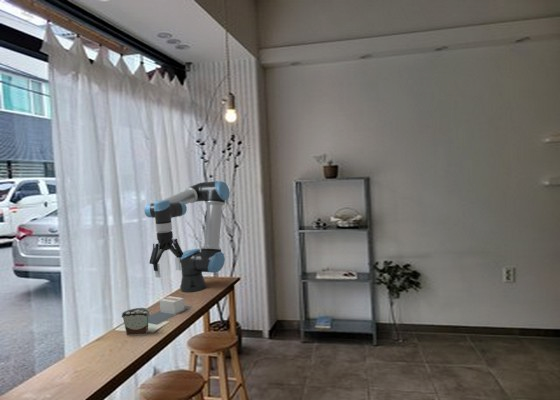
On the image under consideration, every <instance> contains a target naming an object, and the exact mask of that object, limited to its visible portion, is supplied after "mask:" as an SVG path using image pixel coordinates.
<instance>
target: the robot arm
mask: <svg viewBox="0 0 560 400" xmlns="http://www.w3.org/2000/svg"><path fill="white" fill-rule="evenodd" d="M230 193H231V192H230V189H229V186H228V184H227V183H226V182H225V181H222V180H221V181H218V180H217V181H203V182H199V183H196V184H194V185H192V186H188V187H187V188H185V190H184V191H181V192H179V193H177V194H174V195H172V196H169V197H167V198H164V199H161V200H155V201H154V202H153V203H152V202H151V203H147V204H146V205H145V206H144V211H143V212H144V215H145V216H146V217H147V218H152V219H153V218H155V230H156V240H157V242H158V243H155V242H154V243H153V244H152V251H151V254H150V259H149V263H148V264H150V265H153V271H154V274H155V275H154V276H155V278H159V279H160V278H161V269H160V268H161V267H160V263H159V262H160V259H161V257H162V255H163V254H164V253H165V251H169V250H170V251H171V253H172V254H173V255H174V262H175V264H174V265H175V271H181V282H180V286H179V288H180V291H181V292H183V293H184V292H185V293H193V292H194V293H195V292H197V291H202V290H205V289H206V287H207V282H206V281H205V278H204V276H203V273H210V274H211V273H219V272H220V271H222V269H223V267H224V265H225V261H226V257H225V254H224V253H223V251H222V248H221V247H220V239H221V237H220V236H221V227H222V226H221V223H222V212H223V207H224V206H225V205H226V201H228V199H229V198H230ZM196 202H205V204H206V206H207V208H206V220H205V221H206V223H205V230H204V231H205V233H204V242H203V243H204V245H203V246H202V247H201V249H200V248H193V249H188V250H185V251H183V250H182V248H181V246H180V244H179V241H178V238H174V234H173V231H172V230H173V224H172V223H173V222H172V219H173V218H177V217H181V216H184V215H186V213H187V212H188V211H187V209H188V208H187V205H188V204H193V203H194V204H195V203H196Z"/></svg>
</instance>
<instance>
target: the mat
mask: <svg viewBox="0 0 560 400" xmlns="http://www.w3.org/2000/svg"><path fill="white" fill-rule="evenodd" d="M192 308H193V306H192V305H191V306H189V305H184V310H183V311H181V312H179V313H177V314H170V313H164V312H161V310H159V311H157V312H155V313H152V314H150V315H149V317H148V324H150V325H151V324H152V325H159V324H162V323H163V322H165V321H168V320H170V319H171V318H174V317H177V316H178V315H180V314H182V313H184V312H186V311H188V310H190V309H192Z"/></svg>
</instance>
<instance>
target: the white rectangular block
mask: <svg viewBox="0 0 560 400" xmlns="http://www.w3.org/2000/svg"><path fill="white" fill-rule="evenodd" d="M184 306H185V299H184V297H177V296H170V295H169V296H166V297H163V298H162V299H159V307H160V308H159V309H160V310H159V311H161V312H164V313H170V314H177V313H179V312H181V311H183V310H184Z"/></svg>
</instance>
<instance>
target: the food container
mask: <svg viewBox="0 0 560 400" xmlns="http://www.w3.org/2000/svg"><path fill="white" fill-rule="evenodd" d="M150 315H151V314H150V311H149V309H148V308H146V307H137V308H131V309H127V310H125V311H124V312H122V313H121V318H122V319H123V323H124V330H125V334H126V336H139V335H141V336H142V335H148V334H149V323H148V317H149V316H150Z"/></svg>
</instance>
